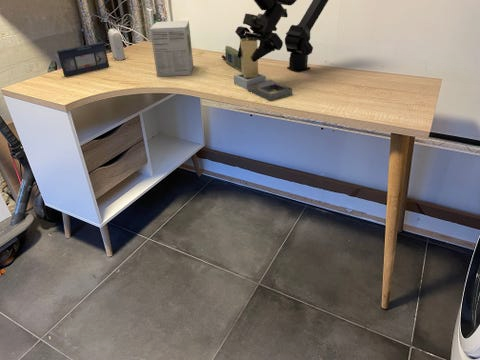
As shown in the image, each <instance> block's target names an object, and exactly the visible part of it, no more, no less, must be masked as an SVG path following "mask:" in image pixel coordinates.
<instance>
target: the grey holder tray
mask: <svg viewBox="0 0 480 360" xmlns="http://www.w3.org/2000/svg"><path fill="white" fill-rule="evenodd" d="M271 91H275V92H271ZM247 92H249V93H251V92H252V93H251V94H253V93H254V94H253V95H255V94H256V95H255V96H258V97H260V98H261V99H265V100H266V99H267V100H266V101H268V102H271V101H275V100H278V99H282V98H285V97H289V96H292V95H293V88H292V87H289V86H287V85H284V84H282V83H279V82H276V81H273V80H272V79H267V80H266V81H263V82H259V83H255V84H251V85H248V89H247Z"/></svg>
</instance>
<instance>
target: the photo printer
mask: <svg viewBox="0 0 480 360" xmlns="http://www.w3.org/2000/svg"><path fill="white" fill-rule="evenodd" d="M107 34H108V35H107V36H108V40H109V43H110V47H111V48H110V49H111V54H112V56H113V58H114V59H116V61H124V60H125V59H126V53H125V49H124V45H123V39H122V35H121V33H120V31H118V29H116V28H109V30H108V32H107ZM123 59H124V60H123Z"/></svg>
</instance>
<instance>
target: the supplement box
mask: <svg viewBox="0 0 480 360" xmlns="http://www.w3.org/2000/svg"><path fill="white" fill-rule="evenodd" d="M149 33H150V38H151V44H152V51H153V52H152V53H153V57H154V64H155V65H154V66H155V70H156V76H157V77H168V76H169V77H170V76H190V75H191V73H192V70H193V68H194V58H193V57H194V56H193V50H192V49H193V48H192V38H191V30H190V20H175V21H173V20H171V21H156V22H155V23H154V24H152V26H151V27H150V28H149Z"/></svg>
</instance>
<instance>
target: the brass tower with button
mask: <svg viewBox="0 0 480 360" xmlns="http://www.w3.org/2000/svg"><path fill="white" fill-rule="evenodd" d="M239 41H240V42H239V44H240V43H241V65H242V72H241V74H242V75H243V78H253V77H258V73H259V59H258V60H257V61H255V62H253V61H252V59H253V56H254V54H255V53H256V51H257V49H258V40H256V38H243V39H240V38H239Z"/></svg>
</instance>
